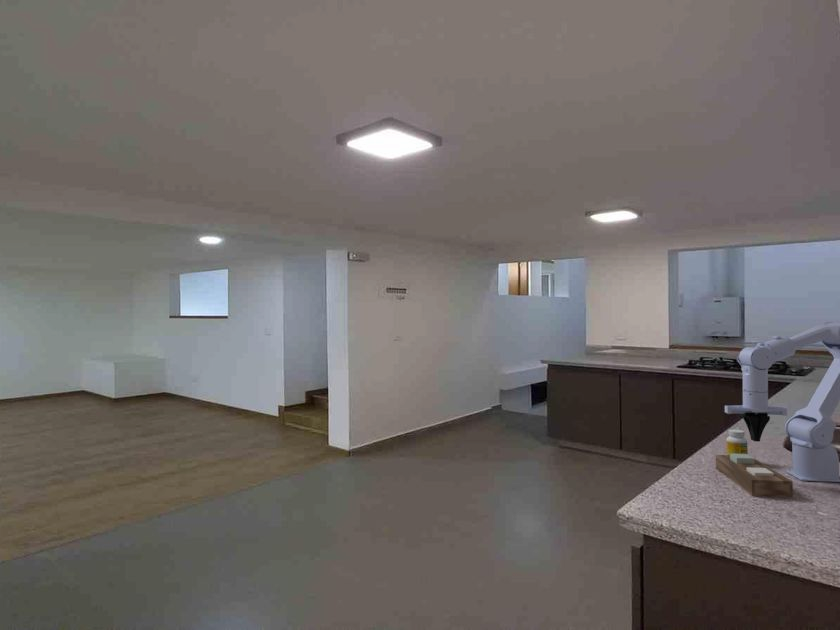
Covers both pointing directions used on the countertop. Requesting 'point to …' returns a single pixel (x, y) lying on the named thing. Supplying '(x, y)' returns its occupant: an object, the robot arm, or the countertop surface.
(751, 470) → the off white key
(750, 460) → the sage key
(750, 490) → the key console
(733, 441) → the supplement bottle
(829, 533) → the countertop surface
